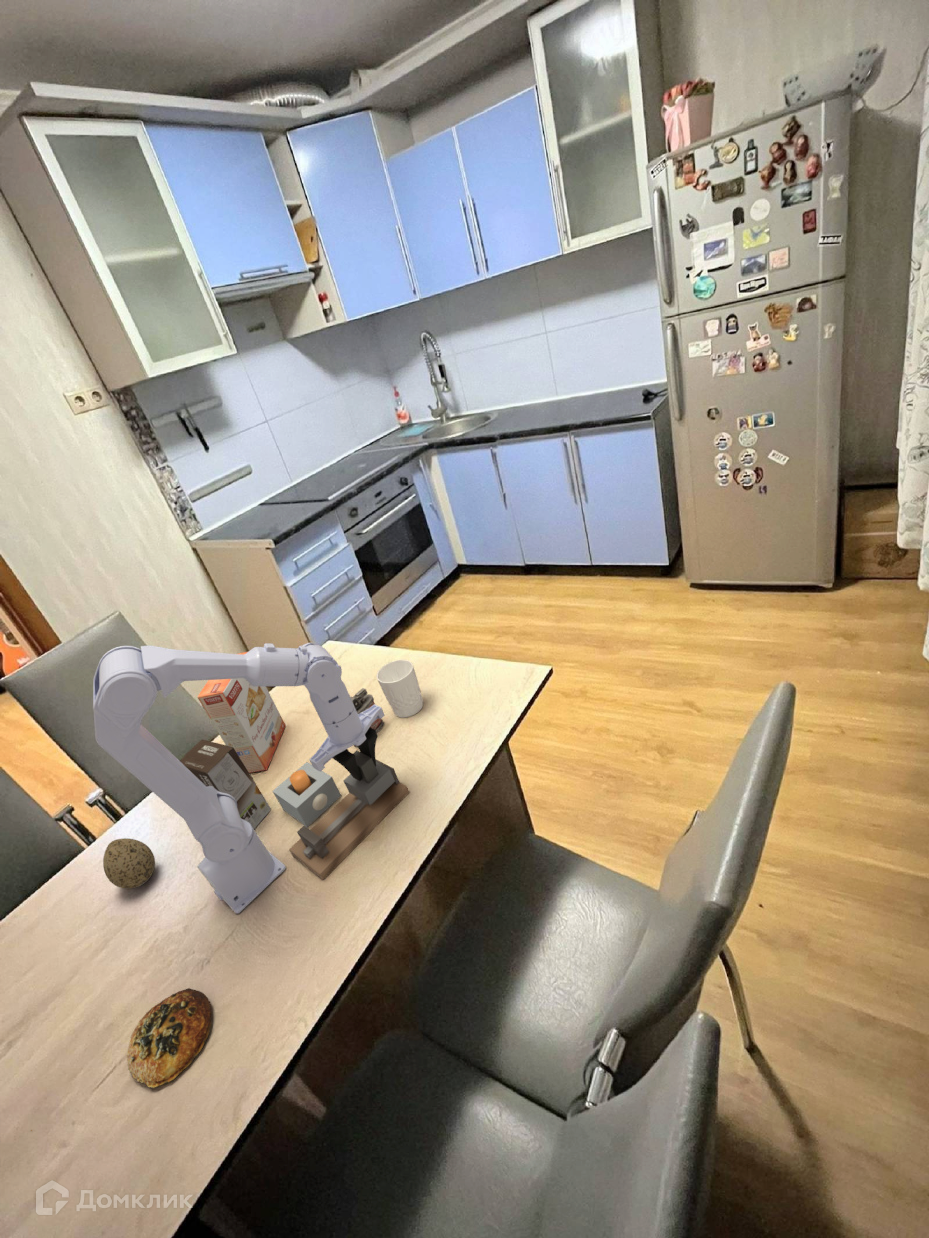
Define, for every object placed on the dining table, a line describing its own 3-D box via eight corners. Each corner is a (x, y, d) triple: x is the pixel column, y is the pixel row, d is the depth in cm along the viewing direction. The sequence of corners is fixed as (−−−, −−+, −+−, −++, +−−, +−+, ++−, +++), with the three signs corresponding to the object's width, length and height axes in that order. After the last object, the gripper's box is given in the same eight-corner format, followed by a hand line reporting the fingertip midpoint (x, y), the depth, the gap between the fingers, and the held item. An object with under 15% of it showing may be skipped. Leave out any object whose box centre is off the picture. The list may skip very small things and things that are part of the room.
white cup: (385, 719, 121) (370, 683, 116) (399, 695, 128) (385, 659, 123) (418, 720, 118) (404, 682, 114) (431, 695, 125) (418, 658, 120)
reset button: (305, 802, 102) (295, 785, 100) (296, 796, 104) (286, 778, 102) (318, 790, 104) (308, 773, 102) (309, 784, 106) (299, 767, 104)
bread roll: (226, 985, 79) (206, 971, 76) (203, 1085, 71) (180, 1074, 67) (154, 999, 81) (132, 987, 78) (123, 1100, 72) (97, 1090, 69)
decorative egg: (168, 876, 99) (138, 839, 94) (126, 906, 95) (93, 870, 90) (157, 854, 104) (128, 817, 99) (118, 882, 101) (85, 846, 96)
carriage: (370, 805, 97) (356, 776, 94) (349, 792, 101) (335, 764, 98) (395, 781, 101) (382, 752, 97) (373, 769, 105) (360, 741, 101)
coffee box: (273, 808, 107) (235, 746, 99) (248, 836, 102) (207, 773, 94) (240, 798, 111) (202, 738, 104) (216, 824, 107) (173, 763, 99)
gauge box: (307, 827, 100) (297, 808, 98) (283, 809, 106) (272, 791, 103) (342, 795, 105) (332, 777, 103) (316, 780, 110) (306, 761, 108)
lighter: (361, 749, 115) (344, 712, 110) (350, 744, 117) (332, 707, 112) (387, 723, 120) (372, 686, 115) (376, 719, 122) (361, 683, 117)
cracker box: (269, 770, 116) (223, 691, 106) (242, 775, 117) (194, 697, 107) (288, 724, 128) (248, 649, 118) (263, 729, 129) (222, 655, 119)
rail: (323, 880, 90) (311, 860, 88) (292, 855, 96) (280, 835, 94) (409, 792, 102) (401, 772, 99) (377, 774, 108) (368, 755, 105)
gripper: (316, 749, 86) (347, 810, 92) (385, 691, 94) (408, 751, 101) (291, 735, 90) (322, 793, 97) (358, 681, 98) (383, 738, 105)
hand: (364, 771), depth 99 cm, fingers open, 3 cm apart
